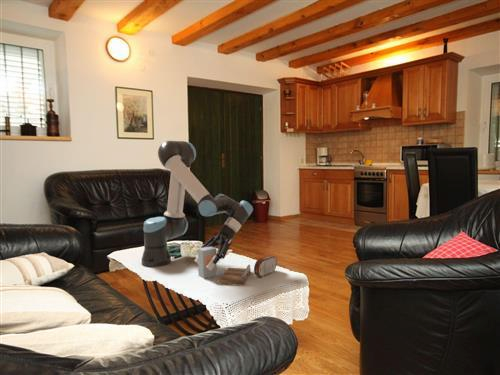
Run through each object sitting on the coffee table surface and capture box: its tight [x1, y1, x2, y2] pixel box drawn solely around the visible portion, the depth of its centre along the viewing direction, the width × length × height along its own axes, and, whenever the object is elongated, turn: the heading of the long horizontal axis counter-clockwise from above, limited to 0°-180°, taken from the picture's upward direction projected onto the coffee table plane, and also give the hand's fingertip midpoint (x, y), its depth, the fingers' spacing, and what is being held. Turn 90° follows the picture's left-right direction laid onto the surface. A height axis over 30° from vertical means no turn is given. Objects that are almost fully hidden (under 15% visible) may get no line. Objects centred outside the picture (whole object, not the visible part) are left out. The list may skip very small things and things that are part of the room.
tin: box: [253, 254, 278, 278], centre depth 166 cm, size 15×3×8 cm, turn 140°
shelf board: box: [218, 267, 251, 286], centre depth 163 cm, size 18×11×2 cm, turn 170°
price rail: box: [241, 264, 251, 282], centre depth 162 cm, size 18×1×2 cm, turn 170°
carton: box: [197, 246, 218, 279], centre depth 165 cm, size 5×7×13 cm
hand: (202, 265), depth 164 cm, fingers open, 11 cm apart
